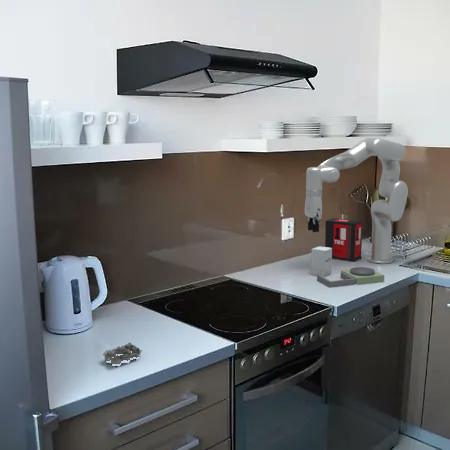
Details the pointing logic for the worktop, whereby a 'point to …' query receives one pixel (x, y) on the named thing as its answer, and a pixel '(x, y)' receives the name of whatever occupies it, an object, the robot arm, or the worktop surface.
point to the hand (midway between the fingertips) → (313, 230)
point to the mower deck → (354, 277)
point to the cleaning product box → (344, 239)
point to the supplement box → (321, 261)
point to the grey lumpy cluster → (122, 350)
